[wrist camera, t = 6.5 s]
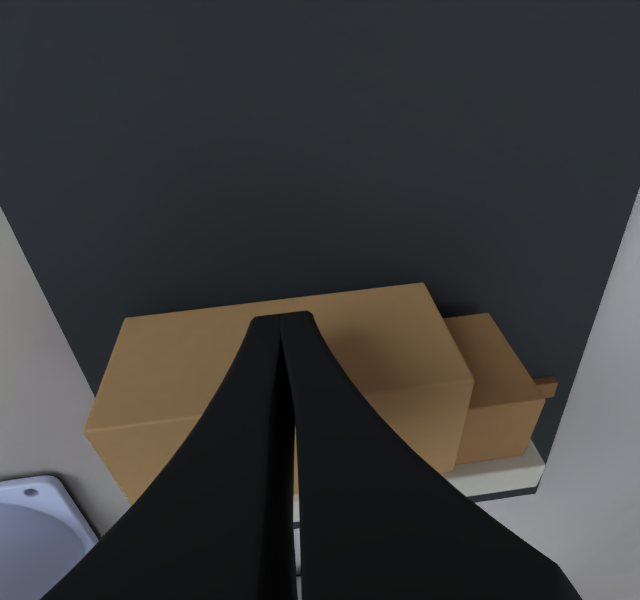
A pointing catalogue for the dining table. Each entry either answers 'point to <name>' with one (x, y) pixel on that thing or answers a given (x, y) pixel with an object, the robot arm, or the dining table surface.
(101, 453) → the cardboard stepped box
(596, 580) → the dining table surface
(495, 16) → the shoe mat
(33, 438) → the dining table surface
